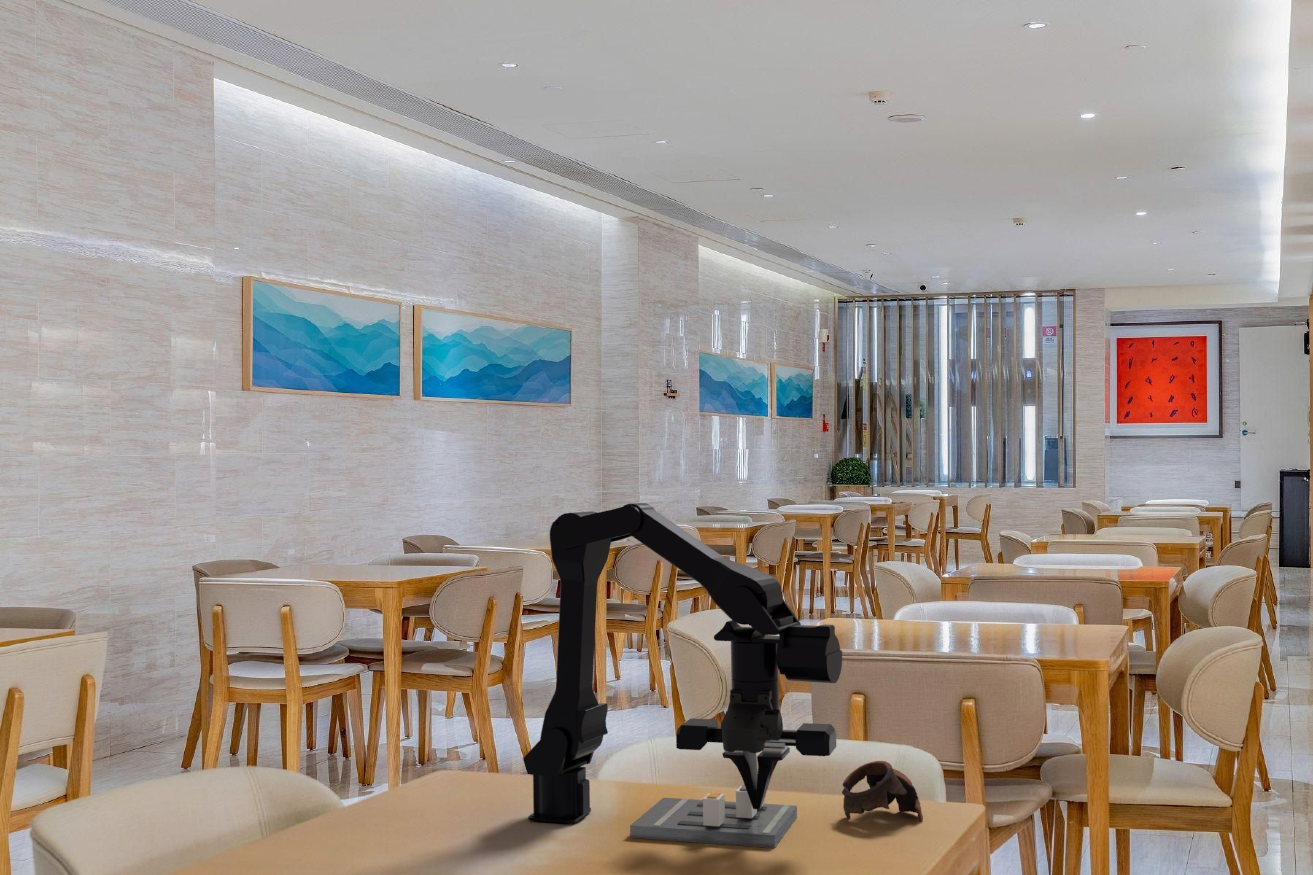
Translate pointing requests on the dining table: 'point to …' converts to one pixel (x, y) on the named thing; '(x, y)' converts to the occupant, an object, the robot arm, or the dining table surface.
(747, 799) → the breaker
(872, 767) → the brown curved band frame
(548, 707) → the robot arm
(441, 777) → the dining table surface
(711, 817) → the block
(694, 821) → the panel
